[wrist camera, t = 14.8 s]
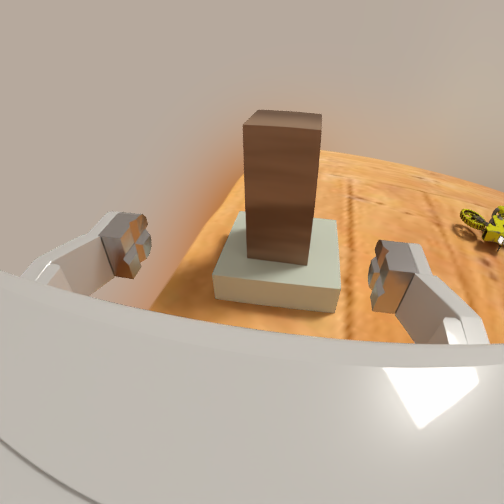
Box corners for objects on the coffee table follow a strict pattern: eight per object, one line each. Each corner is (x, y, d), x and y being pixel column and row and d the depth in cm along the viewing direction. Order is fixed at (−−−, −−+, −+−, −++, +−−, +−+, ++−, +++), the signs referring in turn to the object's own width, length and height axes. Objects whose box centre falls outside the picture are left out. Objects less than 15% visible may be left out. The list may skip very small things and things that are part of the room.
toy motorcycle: (513, 202, 29) (541, 231, 24) (504, 225, 32) (530, 255, 26) (459, 196, 29) (491, 230, 24) (450, 222, 31) (478, 258, 26)
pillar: (307, 265, 22) (321, 130, 15) (246, 258, 22) (242, 124, 16) (311, 231, 25) (321, 114, 19) (258, 225, 26) (258, 109, 20)
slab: (333, 317, 22) (341, 289, 20) (216, 303, 23) (212, 274, 21) (331, 246, 28) (336, 220, 27) (240, 237, 30) (239, 211, 28)
